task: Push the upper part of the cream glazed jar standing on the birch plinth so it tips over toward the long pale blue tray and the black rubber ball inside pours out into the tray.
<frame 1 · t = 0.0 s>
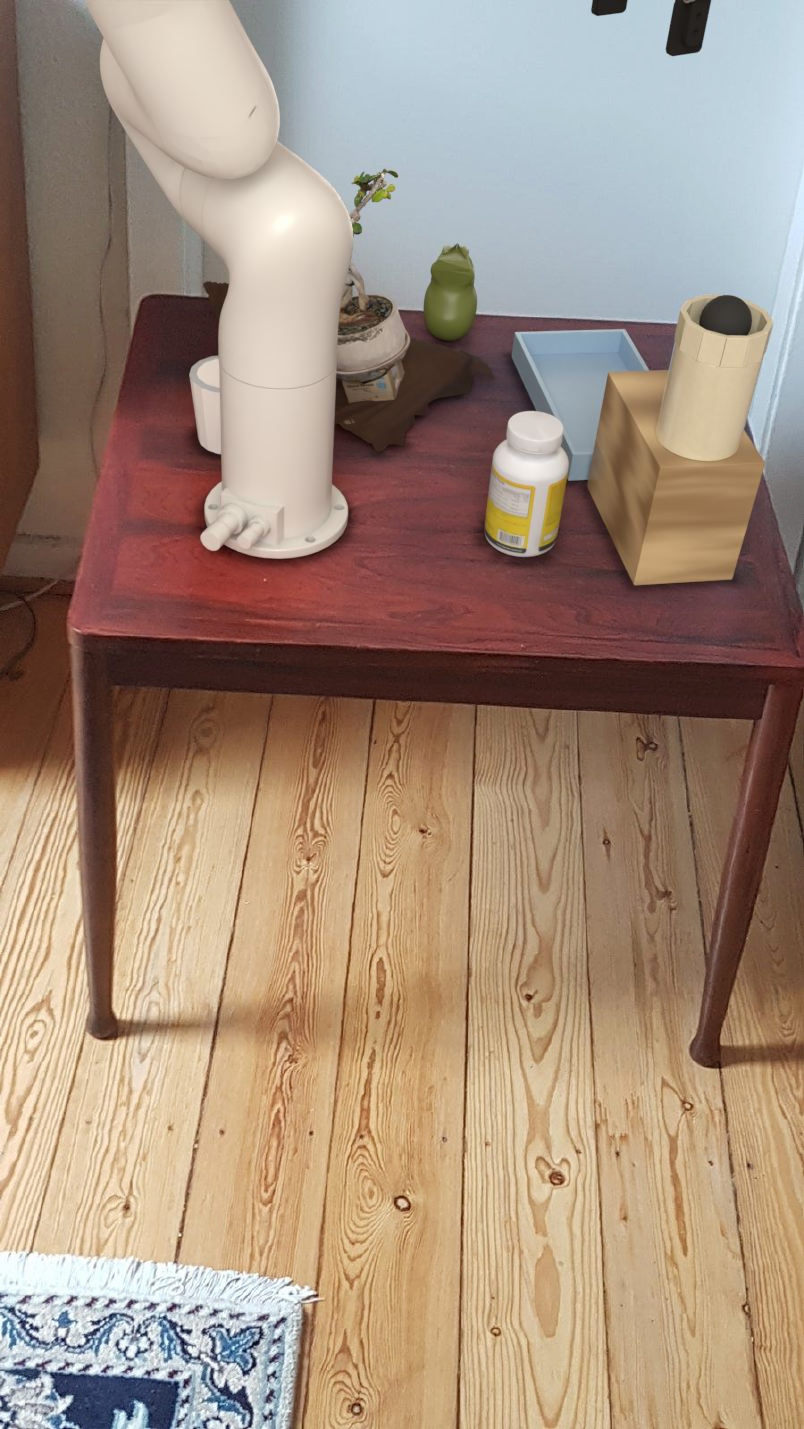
hand: (644, 32, 115), 37 cm above the table, tool pointing down, fingers open, 9 cm apart
plinth: (656, 531, 129), on the table
pill bottle: (519, 540, 127), on the table
jar: (697, 438, 118), point 12 cm above the table, touching ball, plinth
potted plant: (355, 387, 144), on the table
ball: (725, 321, 111), point 22 cm above the table, touching jar
shot glass: (228, 440, 136), on the table
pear: (446, 338, 153), on the table
tray: (596, 413, 143), on the table
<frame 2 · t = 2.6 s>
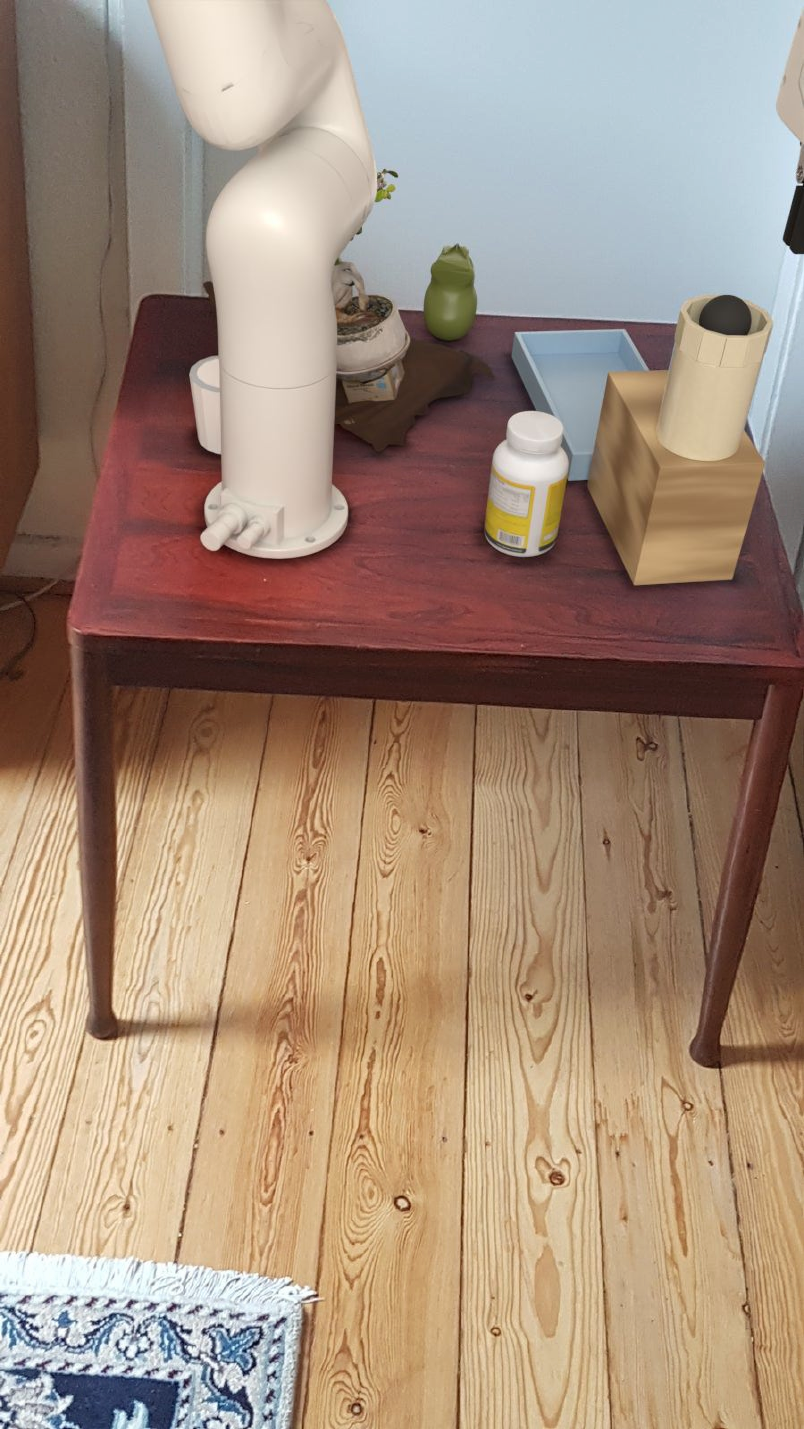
nothing on the table moved.
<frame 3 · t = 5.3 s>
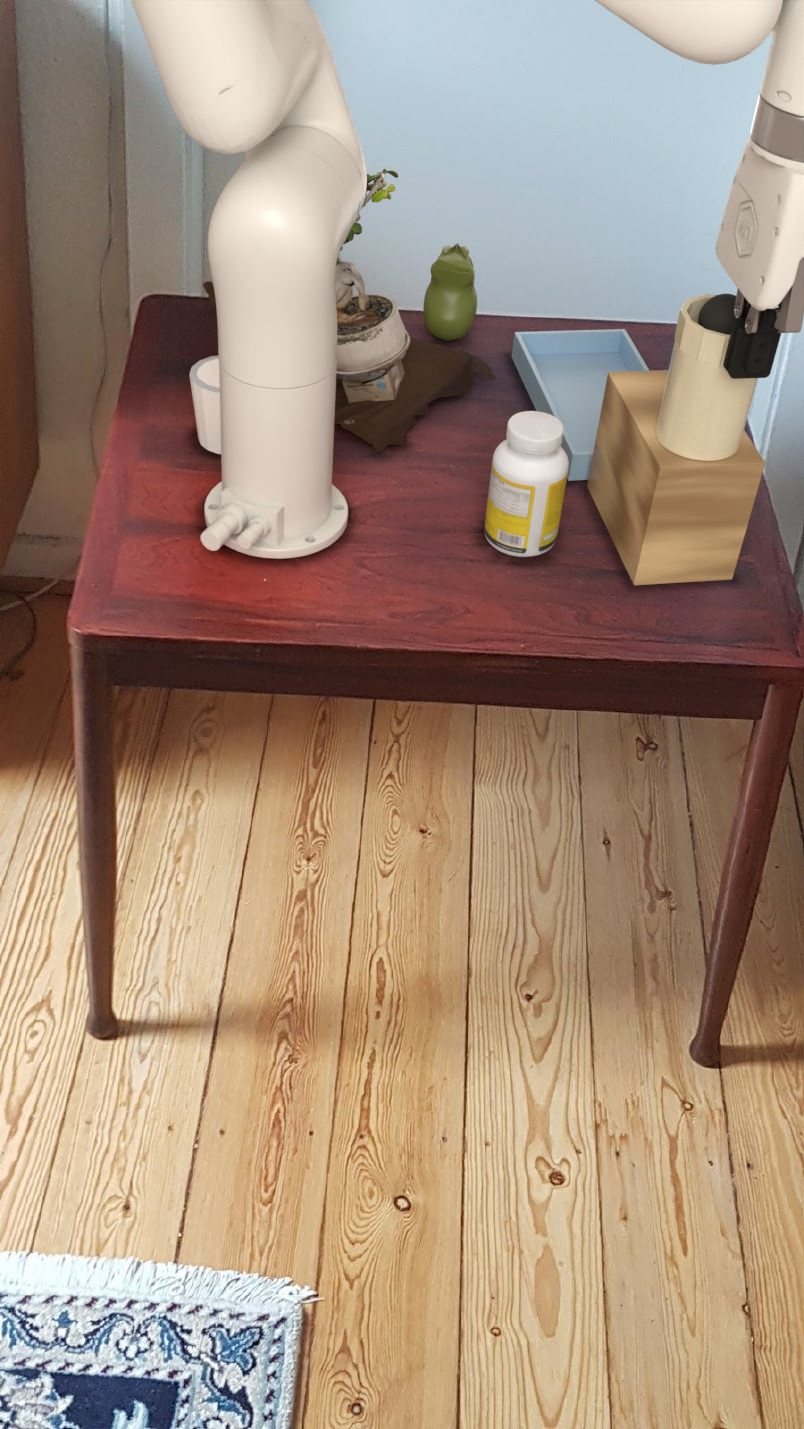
hand: (745, 372, 108), 21 cm above the table, tool pointing down, fingers closed
jar: (697, 438, 118), point 12 cm above the table, touching ball, gripper, plinth
everything else where it was.
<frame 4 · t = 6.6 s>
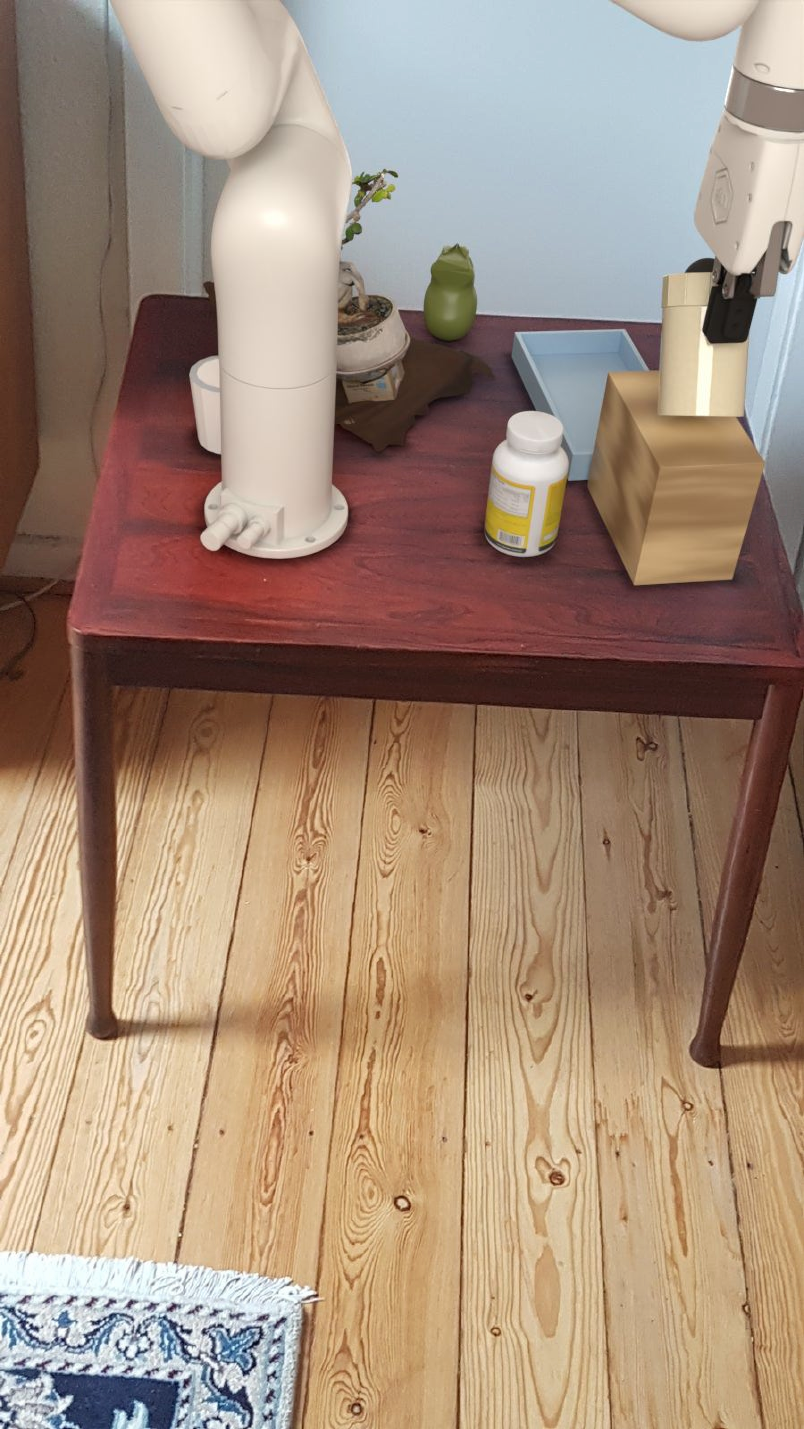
hand: (723, 337, 112), 21 cm above the table, tool pointing down, fingers closed
jar: (700, 416, 118), point 14 cm above the table, tilted 31°, touching ball, gripper, plinth
ball: (706, 283, 116), point 22 cm above the table, tilted 60°, touching jar
everything else where it was.
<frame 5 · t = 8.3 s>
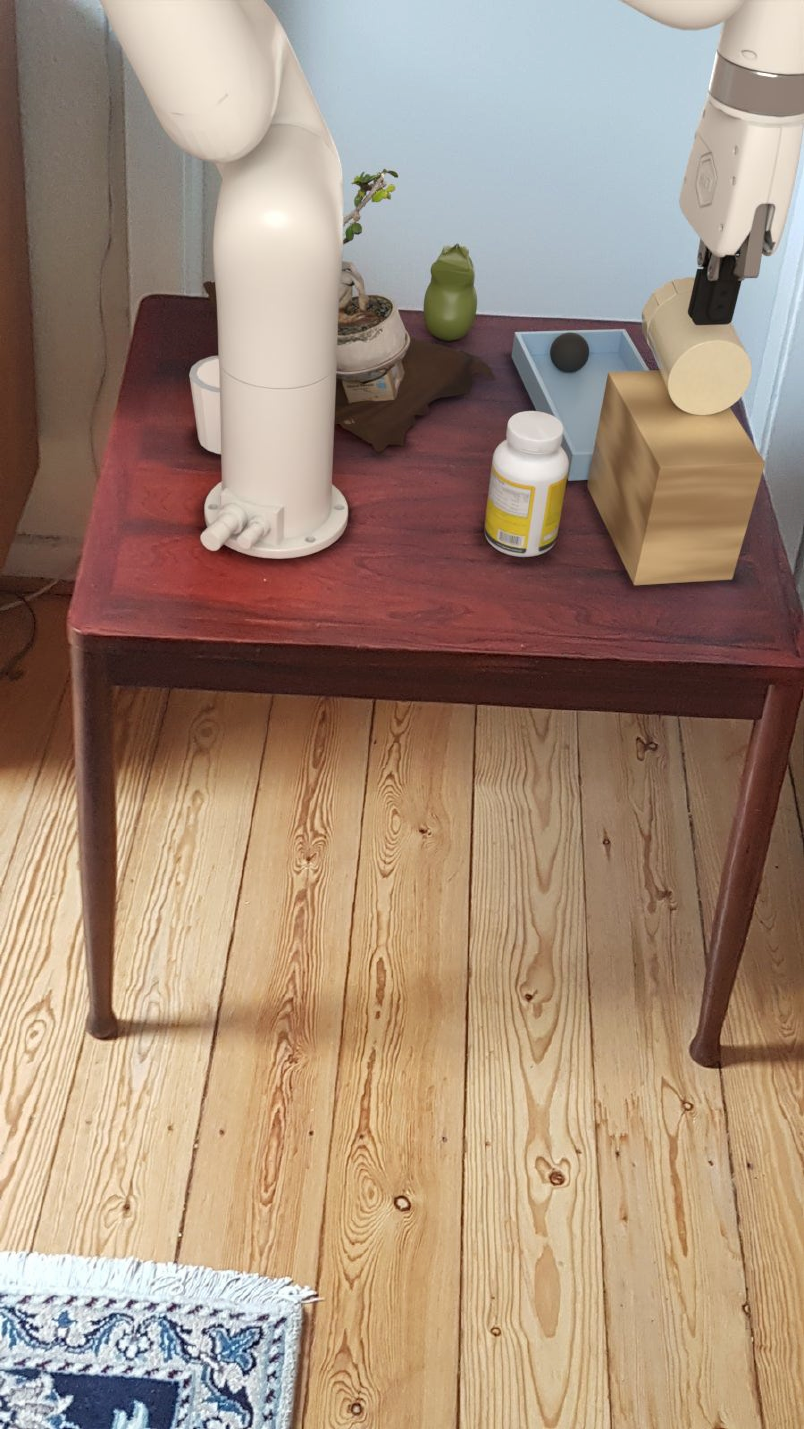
hand: (708, 319, 114), 21 cm above the table, tool pointing down, fingers closed
jar: (709, 378, 119), point 16 cm above the table, tilted 90°, touching plinth
ball: (569, 352, 147), point 2 cm above the table, tilted 67°, touching tray
everything else where it was.
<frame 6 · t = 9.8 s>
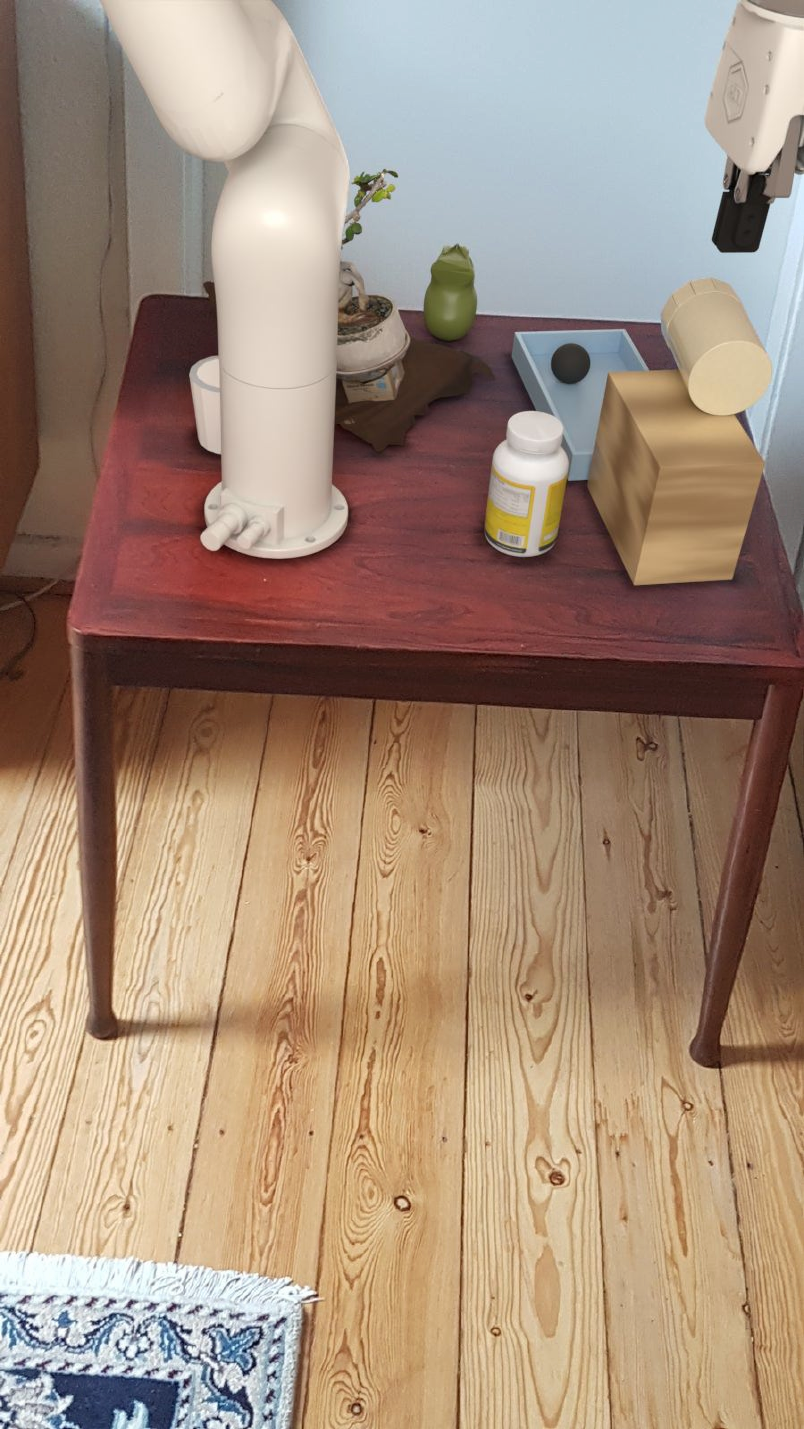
hand: (734, 247, 108), 28 cm above the table, tool pointing down, fingers closed
jar: (730, 379, 119), point 16 cm above the table, tilted 90°, touching plinth
ball: (570, 363, 145), point 2 cm above the table, tilted 119°, touching tray
everything else where it was.
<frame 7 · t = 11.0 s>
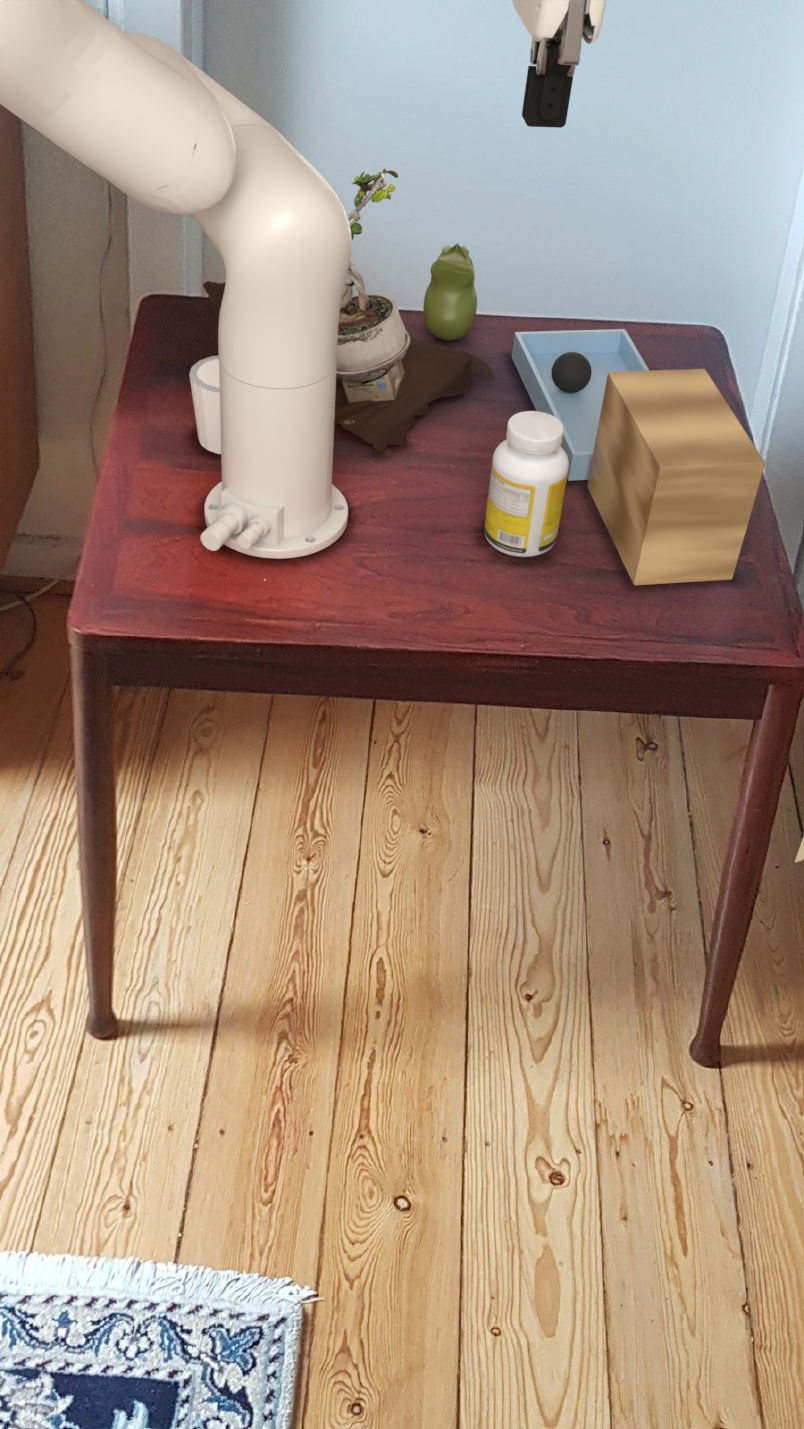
hand: (543, 122, 112), 32 cm above the table, tool pointing down, fingers closed
jar: (780, 839, 161), on the floor, tilted 90°
ball: (571, 372, 144), point 2 cm above the table, tilted 146°, touching tray
everything else where it was.
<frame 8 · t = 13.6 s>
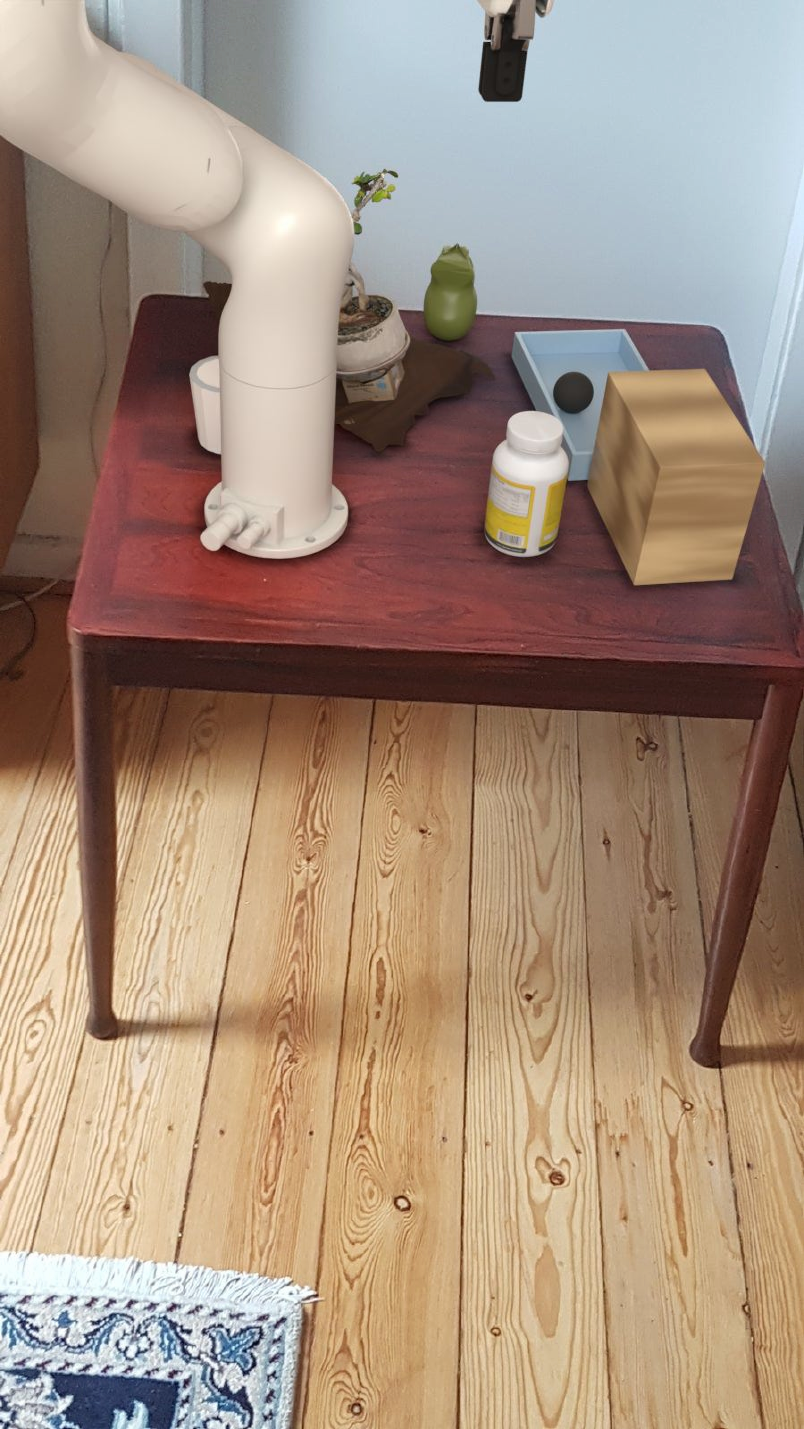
hand: (499, 97, 114), 33 cm above the table, tool pointing down, fingers closed
ball: (573, 392, 141), point 2 cm above the table, tilted 74°, touching tray
at the end: ball inside the target area in the tray (2.8 cm from its centre), point 2.4 cm above the tray's base; ball touching tray; jar tilted 90° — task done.
